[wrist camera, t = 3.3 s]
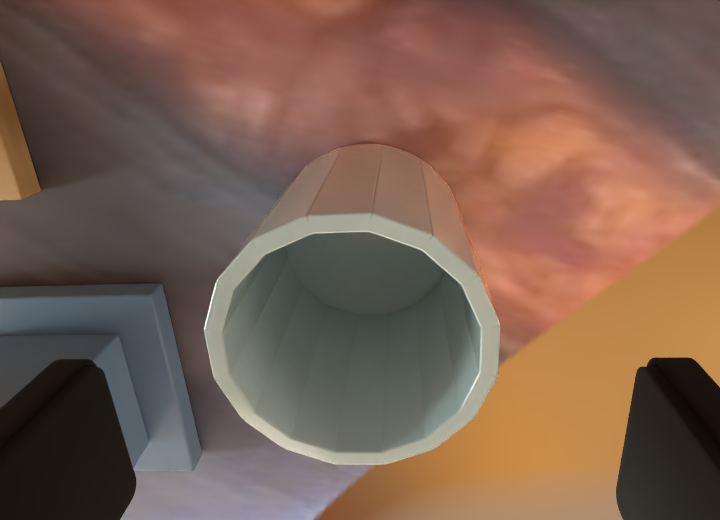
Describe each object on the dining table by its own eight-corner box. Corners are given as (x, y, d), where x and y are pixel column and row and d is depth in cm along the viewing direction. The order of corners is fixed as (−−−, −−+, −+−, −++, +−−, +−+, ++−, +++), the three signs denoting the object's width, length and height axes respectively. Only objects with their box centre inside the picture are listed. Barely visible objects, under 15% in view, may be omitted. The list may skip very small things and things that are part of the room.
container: (265, 148, 16) (179, 219, 10) (464, 138, 16) (507, 207, 9) (288, 318, 19) (230, 464, 12) (461, 315, 18) (493, 466, 12)
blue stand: (-52, 281, 19) (-331, 431, 12) (168, 275, 18) (15, 432, 11) (20, 456, 23) (-162, 659, 15) (209, 458, 22) (113, 671, 14)
